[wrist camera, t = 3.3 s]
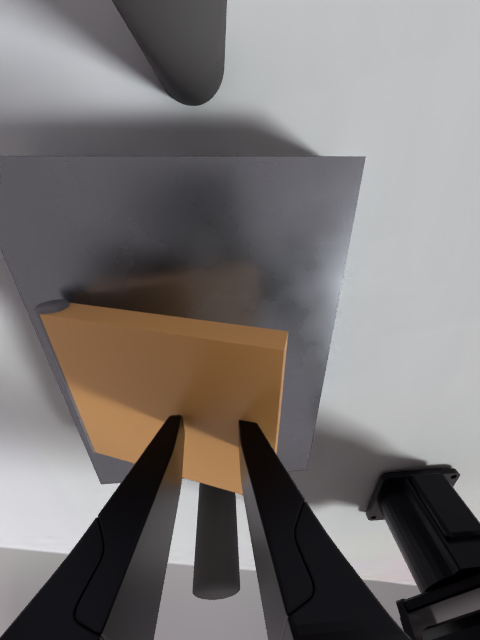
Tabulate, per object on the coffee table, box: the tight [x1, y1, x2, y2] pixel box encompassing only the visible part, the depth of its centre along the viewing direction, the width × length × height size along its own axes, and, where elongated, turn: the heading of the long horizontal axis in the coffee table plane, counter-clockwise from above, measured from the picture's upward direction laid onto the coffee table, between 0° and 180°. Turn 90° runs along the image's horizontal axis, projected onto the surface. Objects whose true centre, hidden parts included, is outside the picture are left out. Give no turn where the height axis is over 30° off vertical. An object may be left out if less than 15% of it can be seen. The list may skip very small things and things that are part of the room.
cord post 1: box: [112, 0, 227, 106], centre depth 6 cm, size 2×2×7 cm
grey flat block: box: [0, 156, 365, 484], centre depth 13 cm, size 16×12×3 cm
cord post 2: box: [193, 483, 240, 600], centre depth 16 cm, size 2×2×7 cm
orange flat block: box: [34, 299, 288, 495], centre depth 10 cm, size 7×8×1 cm
